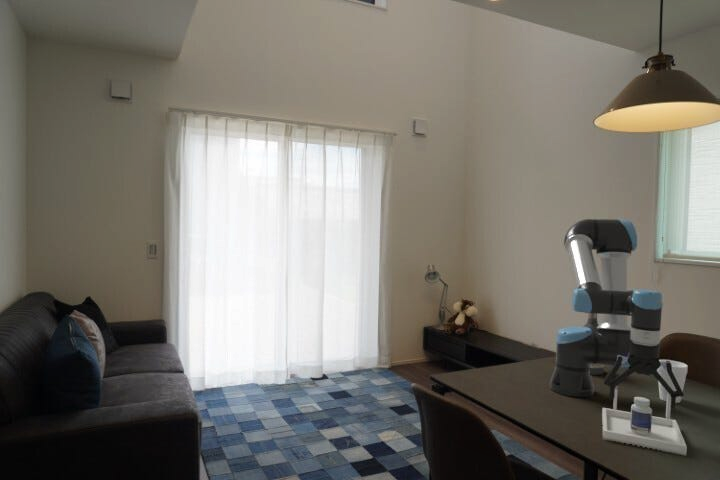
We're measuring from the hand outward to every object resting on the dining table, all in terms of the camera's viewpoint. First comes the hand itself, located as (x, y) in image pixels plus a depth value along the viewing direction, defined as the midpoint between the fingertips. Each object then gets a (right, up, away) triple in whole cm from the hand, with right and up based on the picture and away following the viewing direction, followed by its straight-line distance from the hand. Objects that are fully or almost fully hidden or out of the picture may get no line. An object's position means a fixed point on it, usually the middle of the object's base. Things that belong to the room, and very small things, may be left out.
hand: (640, 413), depth 143 cm
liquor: (+14, -4, +61) cm, 62 cm away
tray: (0, -6, 0) cm, 6 cm away
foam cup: (+28, -6, +30) cm, 41 cm away
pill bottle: (0, -6, 0) cm, 6 cm away
